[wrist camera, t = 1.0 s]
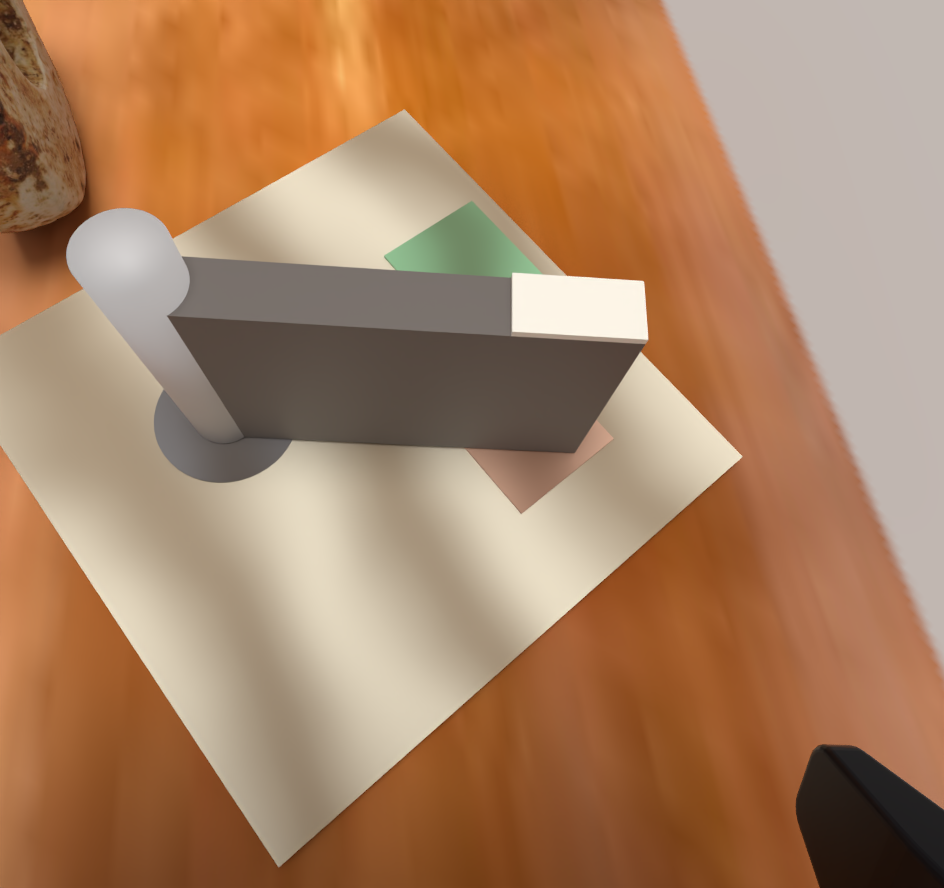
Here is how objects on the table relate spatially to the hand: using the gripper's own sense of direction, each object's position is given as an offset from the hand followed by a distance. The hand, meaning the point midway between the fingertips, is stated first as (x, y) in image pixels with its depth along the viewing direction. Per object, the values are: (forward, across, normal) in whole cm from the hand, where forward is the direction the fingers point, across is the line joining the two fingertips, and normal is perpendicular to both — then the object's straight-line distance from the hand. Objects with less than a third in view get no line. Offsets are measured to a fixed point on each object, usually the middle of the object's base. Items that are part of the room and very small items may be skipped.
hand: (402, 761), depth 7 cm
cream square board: (+16, +2, +2) cm, 16 cm away
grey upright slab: (+15, +1, +2) cm, 15 cm away
